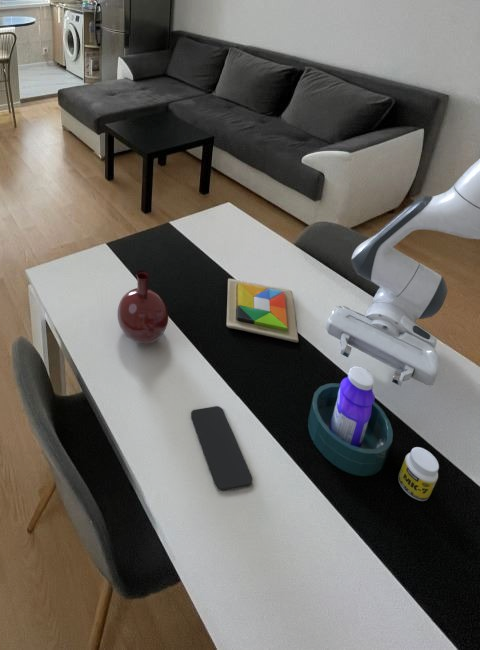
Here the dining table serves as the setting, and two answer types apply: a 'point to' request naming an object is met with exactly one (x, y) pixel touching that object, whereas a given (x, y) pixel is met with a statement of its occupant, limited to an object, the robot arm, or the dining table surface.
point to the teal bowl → (341, 452)
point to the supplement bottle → (419, 473)
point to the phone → (221, 449)
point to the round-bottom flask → (142, 312)
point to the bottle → (353, 406)
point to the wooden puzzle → (261, 310)
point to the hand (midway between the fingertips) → (369, 367)
